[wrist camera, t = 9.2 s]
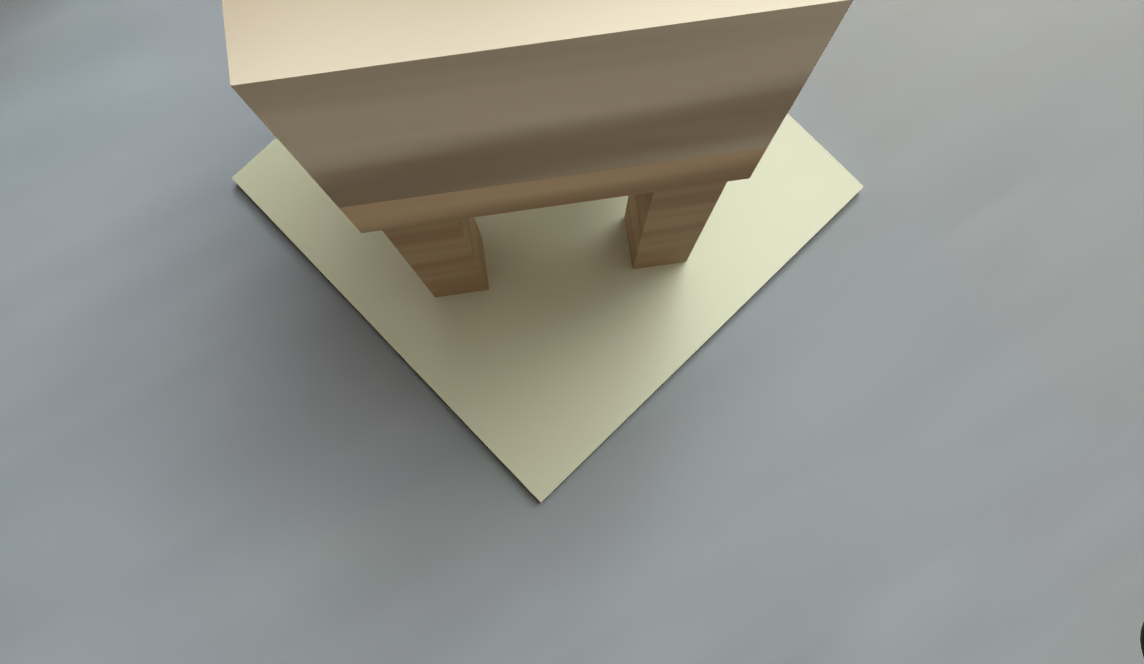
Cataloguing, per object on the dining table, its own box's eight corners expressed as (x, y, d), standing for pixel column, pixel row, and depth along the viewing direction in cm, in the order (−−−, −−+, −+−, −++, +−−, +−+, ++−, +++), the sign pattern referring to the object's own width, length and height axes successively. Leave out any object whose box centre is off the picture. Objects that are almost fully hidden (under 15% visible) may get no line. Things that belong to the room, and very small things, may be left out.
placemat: (541, 502, 22) (540, 502, 22) (237, 183, 23) (231, 177, 23) (858, 191, 23) (863, 186, 23) (553, -103, 24) (552, -112, 24)
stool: (696, 269, 23) (853, -2, 10) (427, 307, 23) (230, 86, 10) (661, 55, 23) (766, -457, 11) (399, 91, 23) (183, -381, 10)
